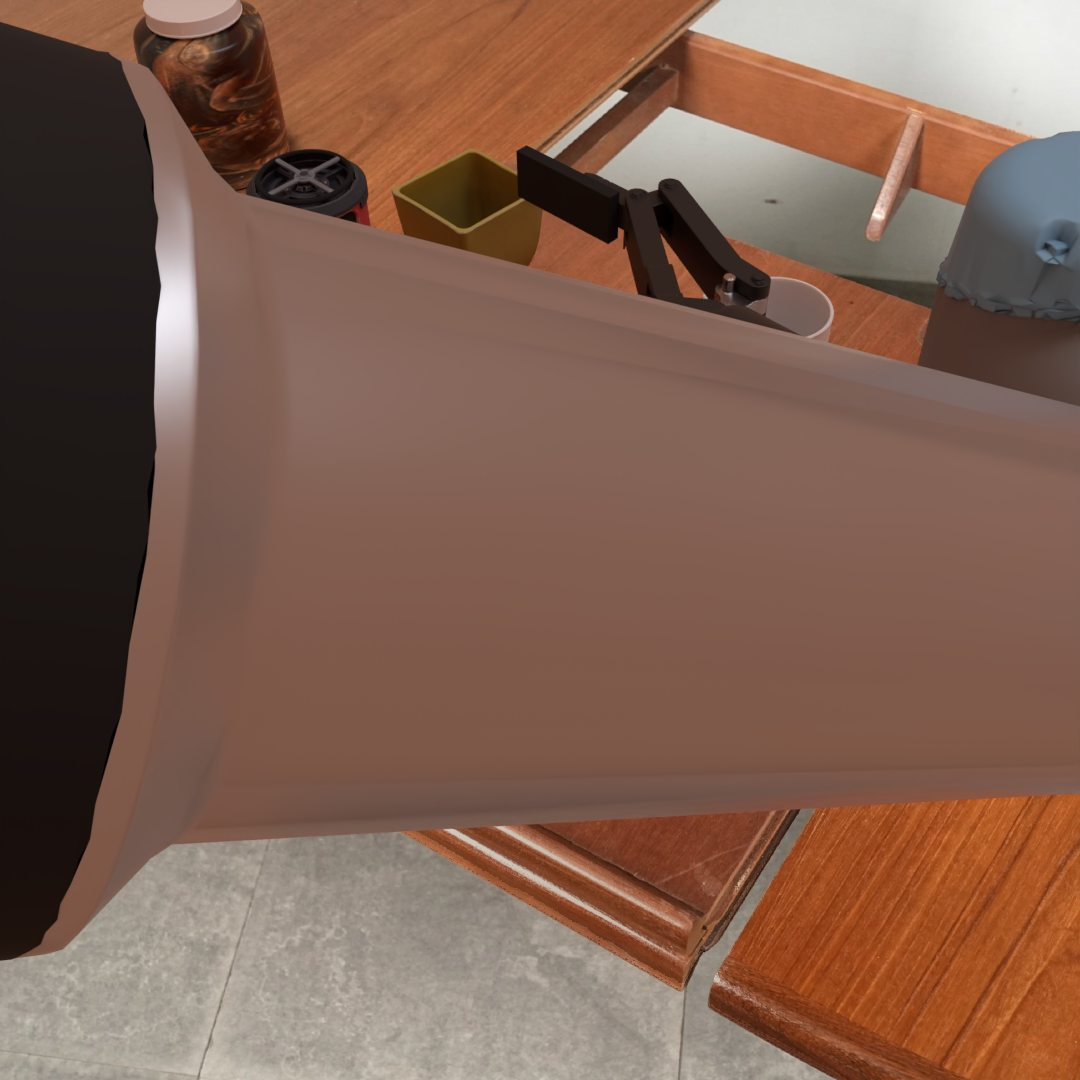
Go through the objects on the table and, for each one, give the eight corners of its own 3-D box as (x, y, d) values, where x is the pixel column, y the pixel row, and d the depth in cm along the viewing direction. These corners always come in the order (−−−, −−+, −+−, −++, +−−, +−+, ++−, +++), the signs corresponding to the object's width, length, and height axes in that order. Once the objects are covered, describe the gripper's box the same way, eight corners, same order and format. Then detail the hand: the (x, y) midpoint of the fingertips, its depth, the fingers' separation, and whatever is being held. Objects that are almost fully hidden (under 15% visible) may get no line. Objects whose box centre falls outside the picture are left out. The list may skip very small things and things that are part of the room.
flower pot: (400, 283, 100) (388, 188, 93) (479, 239, 104) (472, 144, 97) (471, 330, 95) (462, 234, 89) (550, 282, 99) (548, 186, 93)
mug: (824, 435, 87) (852, 300, 78) (778, 490, 83) (802, 355, 74) (705, 381, 91) (718, 247, 82) (656, 431, 87) (664, 297, 78)
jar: (145, 152, 114) (98, -6, 103) (255, 112, 119) (221, -44, 108) (201, 207, 108) (156, 45, 97) (314, 162, 112) (284, 3, 101)
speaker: (338, 438, 86) (293, 222, 73) (272, 390, 90) (218, 176, 76) (418, 385, 90) (389, 170, 76) (351, 341, 93) (312, 128, 80)
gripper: (564, 649, 47) (241, 403, 57) (911, 351, 59) (593, 189, 69) (563, 521, 42) (206, 273, 52) (948, 219, 54) (595, 64, 64)
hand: (426, 225), depth 61 cm, fingers open, 13 cm apart
